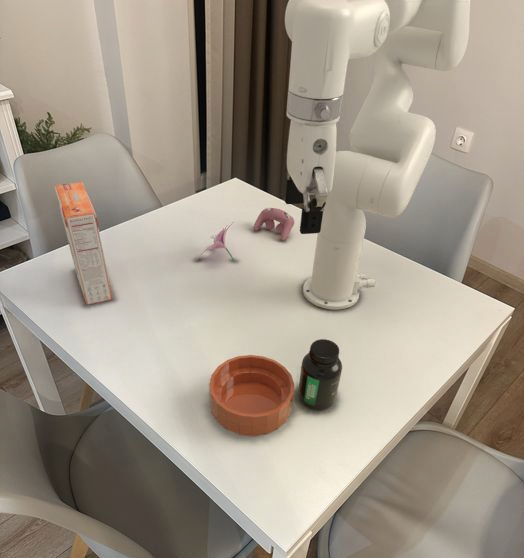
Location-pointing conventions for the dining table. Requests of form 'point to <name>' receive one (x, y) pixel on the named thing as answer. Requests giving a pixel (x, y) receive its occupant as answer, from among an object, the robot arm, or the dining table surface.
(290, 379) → the bowl
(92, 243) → the cracker box
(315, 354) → the supplement bottle
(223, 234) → the lily
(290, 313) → the dining table surface
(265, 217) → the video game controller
